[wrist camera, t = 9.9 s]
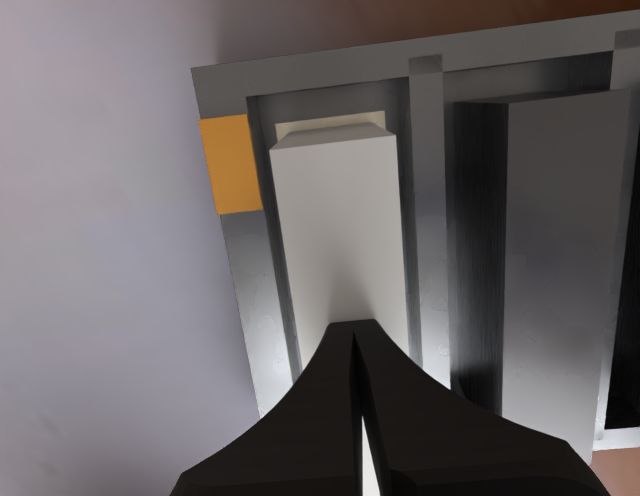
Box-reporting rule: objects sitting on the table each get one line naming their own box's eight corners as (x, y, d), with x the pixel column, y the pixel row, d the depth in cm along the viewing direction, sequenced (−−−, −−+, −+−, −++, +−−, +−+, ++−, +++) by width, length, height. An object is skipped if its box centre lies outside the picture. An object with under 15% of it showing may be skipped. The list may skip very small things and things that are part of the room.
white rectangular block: (391, 395, 20) (418, 515, 14) (326, 401, 20) (326, 522, 14) (370, 121, 16) (396, 135, 10) (289, 131, 16) (268, 150, 10)
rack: (701, 384, 20) (839, 489, 15) (279, 421, 21) (263, 533, 16) (777, 1, 15) (1031, -54, 10) (216, 73, 16) (160, 61, 11)
